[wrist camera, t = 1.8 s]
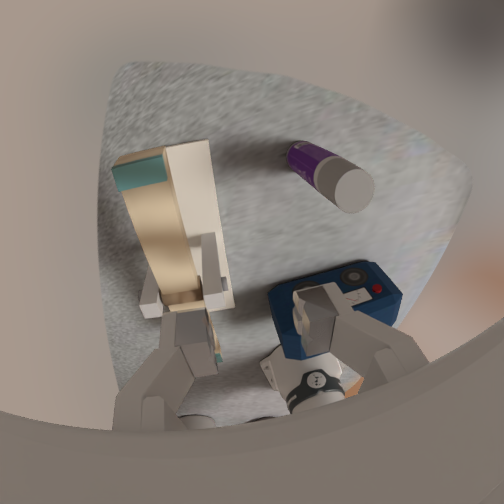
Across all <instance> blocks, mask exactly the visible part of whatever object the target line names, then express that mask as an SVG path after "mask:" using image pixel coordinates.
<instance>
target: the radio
mask: <svg viewBox="0 0 504 504" xmlns="http://www.w3.org/2000/svg"><path fill="white" fill-rule="evenodd" d="M331 282H335V283H336V284H337V286H338V287H339V289H340V290H341V292H342V293H343V295H344V296H345V298H346V299H347V301H348V302H349V304H350V306H351V307H352V309H353V310H354V311H360V312H362V313H364V314H366V315H368V316H370V317H372V318H374V319H376V320H378V321H380V322H382V323H384V324H386V325H388V326H391V327H392V325H393V324H394V322H395V321H396V319H397V315H398V311H399V308H400V304H401V300H402V295H403V294H402V292H401V291H400V290H399V289H398V288H397V286H396V285H395V284H394V283H393V282H392V281H391V279H390V278H389V277H388V276H387V275H386V274H385V273H384V271H383V270H382V269H381V268H380V267H379V266H378V265H377V264H376V262H359V263H355V264H352V265H348V266H345V267H342V268H338V269H335V270H331V271H328V272H324V273H320V274H317V275H313V276H310V277H306V278H302V279H299V280H295V281H291V282H287V283H284V284H280V285H278V286H276V287H275V288H274V289H272V290H271V291H270V292H268V297H269V302H270V308H271V313H272V318H273V321H274V324H275V327H276V331H277V334H278V337H279V340H280V343H281V346H282V349H283V352H284V355H285V358H287V359H293V360H300V361H302V360H306V359H309V358H312V357H316V356H319V355H322V354H325V353H328V352H330V351H328V352H324V353H320V354H316V355H311V356H306V353H305V351H304V348H303V346H302V343H301V335H300V334H298V333H297V330H296V328H295V324H294V319H293V308H294V307H295V303H294V301H293V292H294V291H296V290H301V289H306V288H310V287H315V286H319V285H323V284H327V283H331Z"/></svg>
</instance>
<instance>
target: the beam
mask: <svg viewBox="0 0 504 504" xmlns="http://www.w3.org/2000/svg"><path fill="white" fill-rule="evenodd" d="M111 170H112V173H113V176H114V179H115V182H116V185H117V188H118V191H119V192H120V191H121V192H122V195H123V197H124V200H125V203H126V206H127V209H128V212H129V214H130V217H131V220H132V223H133V225H134V228H135V230H136V233H137V236H138V238H139V241H140V243H141V246H142V248H143V251H144V253H145V256H146V258H147V260H148V263H149V265H150V267H151V270H152V272H153V274H154V277H155V279H156V281H157V283H158V286H159V288H160V292H161V297H162V301H163V303H164V305H165V306H168V307H169V309H170V311H171V312H173V311H179V310H187V309H194V308H202V307H206V304H205V301H204V297H203V285H202V281H201V277H200V275H197V272H196V268H195V265H194V261H193V258H192V254H191V250H190V247H189V243H188V239H187V236H186V232H185V228H184V224H183V221H182V217H181V213H180V209H179V205H178V201H177V196H176V192H175V188H174V184H173V179H172V175H171V171H170V166H169V162H168V157H167V152H166V148H165V146H161V147H156V148H152V149H148V150H143V151H139V152H135V153H131V154H128V155H124V156H120V157H119V158H118V160H117V161H116V163H115V164H114V166H113V167H112V169H111ZM206 309H207V308H206ZM207 312H208V316H209V323H210V324H211V326H212V330H213V334H214V340H215V348H216V349H215V351H214V352H215V355H216V358H217V363H218V362H223V361H222V355H221V348H220V345H219V342H218V339H217V336H216V333H215V330H214V327H213V324H212V321H211V317H210V314H209V311H208V310H207Z"/></svg>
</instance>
